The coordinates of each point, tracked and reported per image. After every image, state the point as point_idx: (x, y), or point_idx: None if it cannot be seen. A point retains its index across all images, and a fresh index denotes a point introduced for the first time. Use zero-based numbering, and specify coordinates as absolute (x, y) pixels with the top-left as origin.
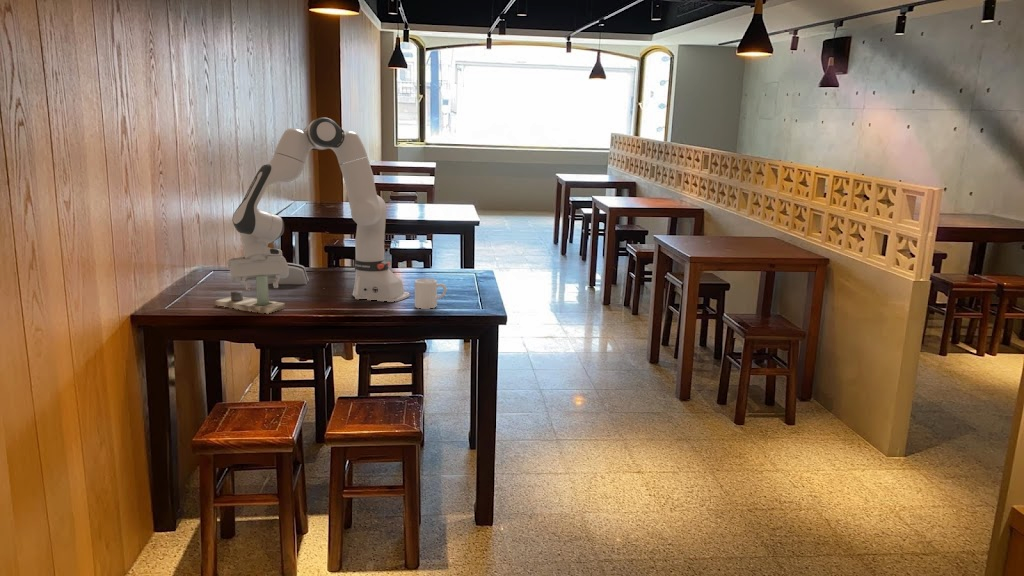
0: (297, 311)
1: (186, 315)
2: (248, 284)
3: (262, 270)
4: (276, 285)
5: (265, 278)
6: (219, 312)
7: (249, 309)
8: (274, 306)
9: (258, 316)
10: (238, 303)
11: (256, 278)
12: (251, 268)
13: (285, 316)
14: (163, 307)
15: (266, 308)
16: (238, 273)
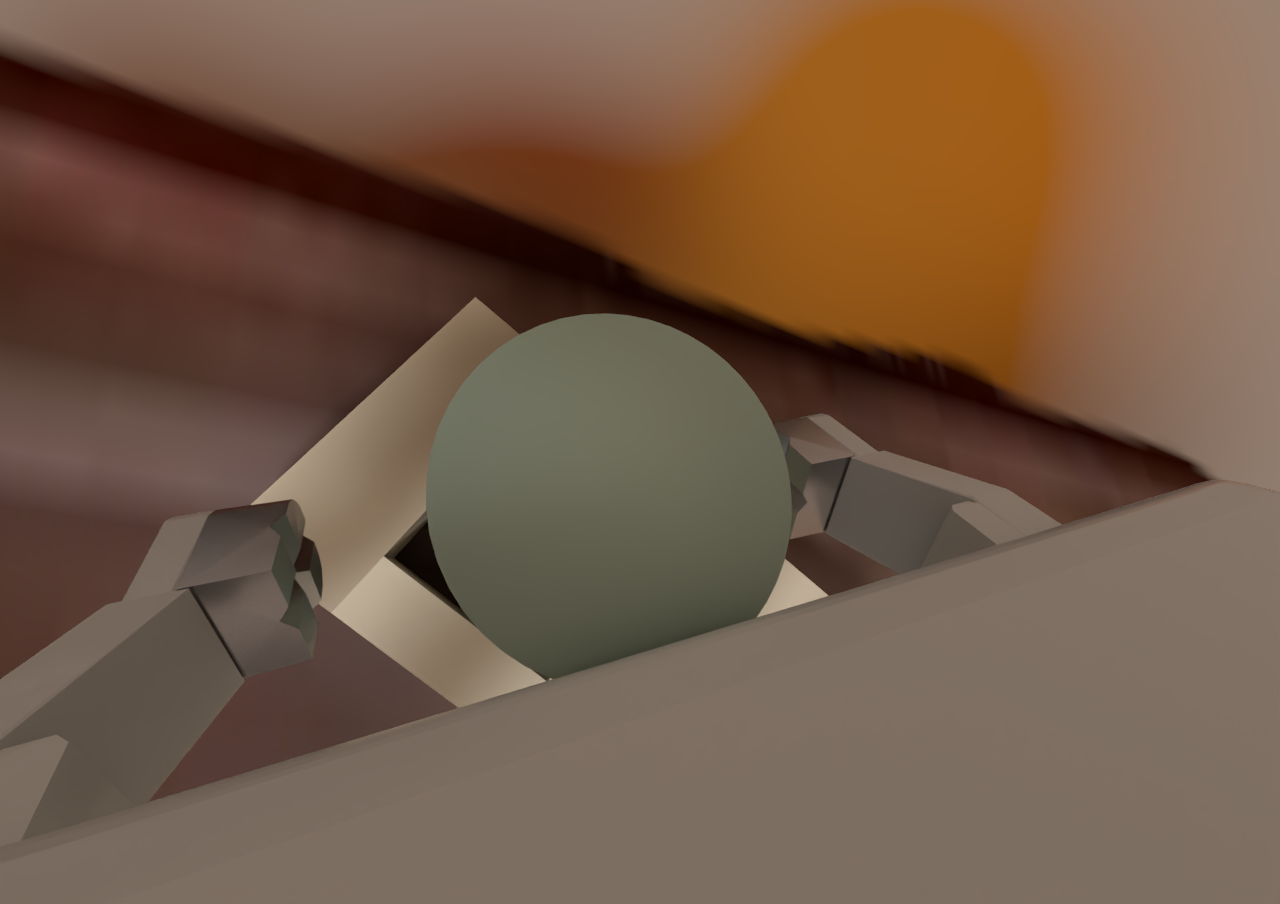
0: (90, 355)
1: (1059, 449)
2: (829, 447)
3: (676, 858)
4: (224, 511)
5: (499, 360)
6: None
7: None
8: (387, 381)
9: (561, 272)
10: (796, 597)
11: (747, 414)
12: (1215, 844)
13: (283, 187)
14: None
15: (486, 307)
16: (1254, 534)
